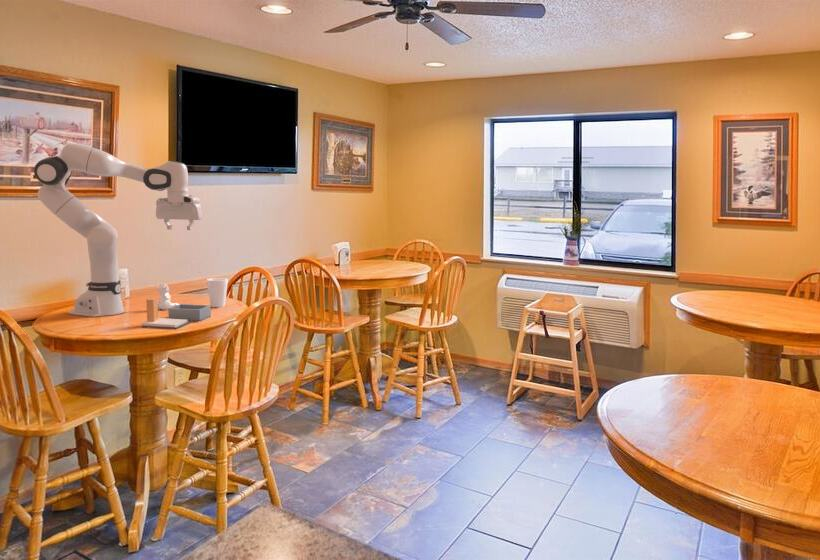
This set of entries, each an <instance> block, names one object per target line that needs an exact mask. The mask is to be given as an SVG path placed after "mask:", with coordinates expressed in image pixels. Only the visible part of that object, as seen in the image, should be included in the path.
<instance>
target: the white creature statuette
mask: <svg viewBox="0 0 820 560" xmlns="http://www.w3.org/2000/svg"><path fill="white" fill-rule="evenodd" d="M155 286H156V285H155ZM155 288H156V290H157V291H158V292H160V295H159V299H158V300H157V304H158V310H160V309H162V310H161V311H166V310H165V309H168V308H171V307H173V306H176V305H179V304H180V303H178V302H171V299H172V297H171V295H170V293H169V292H170V287H169V286H168V285H167V284H166V283H161V284H159V285H157V286H156V287H155Z"/></svg>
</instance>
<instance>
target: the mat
mask: <svg viewBox="0 0 820 560" xmlns="http://www.w3.org/2000/svg"><path fill="white" fill-rule="evenodd" d="M189 324H191V321H188V322H186V323H184V324H182V325H179V326H177V327H160V326H142V325H141V328H147V327H150V328H151V329H164V328H166V329H167V330H178V329H180V328H182V327H185V326H187V325H189ZM150 328H149V329H150Z"/></svg>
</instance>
